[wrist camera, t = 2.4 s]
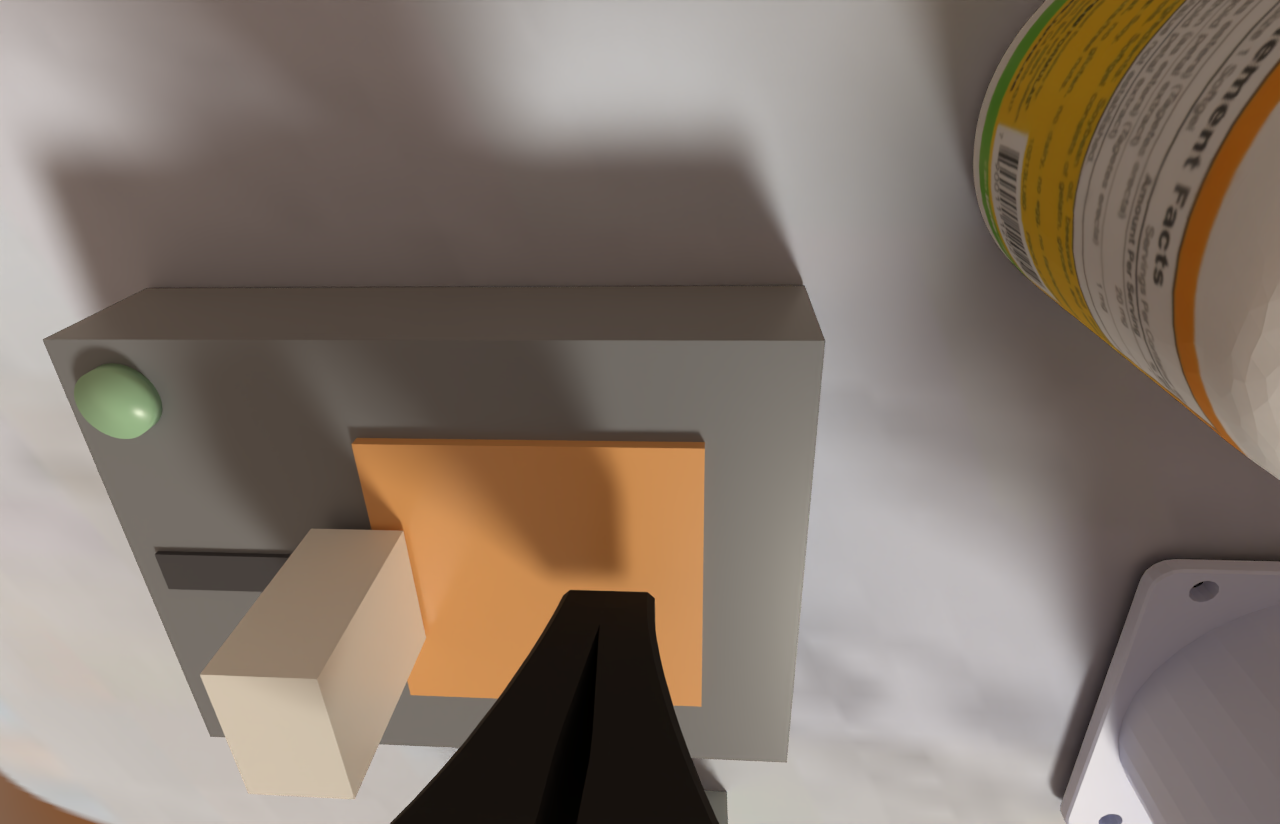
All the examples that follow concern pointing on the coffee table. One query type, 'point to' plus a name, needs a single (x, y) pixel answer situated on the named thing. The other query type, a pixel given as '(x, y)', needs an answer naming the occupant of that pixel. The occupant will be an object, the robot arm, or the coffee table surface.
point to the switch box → (475, 471)
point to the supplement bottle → (1150, 191)
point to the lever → (319, 664)
